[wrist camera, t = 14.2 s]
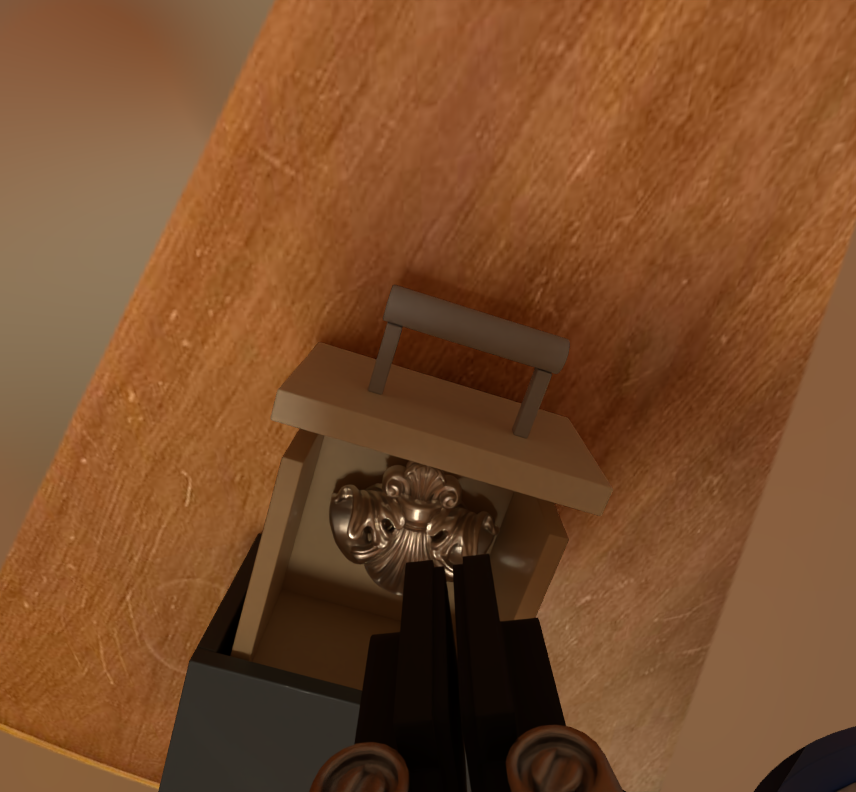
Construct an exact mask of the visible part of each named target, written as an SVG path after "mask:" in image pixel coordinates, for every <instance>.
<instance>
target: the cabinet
mask: <svg viewBox="0 0 856 792" xmlns="http://www.w3.org/2000/svg"><path fill="white" fill-rule="evenodd" d="M261 536H262V534H258V536H257V537H256V539H255V541H254V543H253V545H252V547H251V548H250V550H249V552H248V554H247V556H246V558H245V560H244V561H243V563H242V565H241V567H240V569H239V571H238V572H237V574H236V576H235V578H234V580H233V582H232V584H231V585H230V587H229V589H228V591H227V593H226V595H225V596H224V598H223V600H222V602H221V604H220V606H219V607H218V609H217V611H216V613H215V615H214V617H213V619H212V620H211V622H210V624H209V626H208V628H207V630H206V631H205V633H204V635H203V637H202V639H201V641H200V642H199V644H198V646H197V648H196V650H195V652H194V653H193V655H192V657H191V659H190V661H189V665H188V669H187V673H186V677H185V682H184V686H183V690H182V694H181V698H180V703H179V707H178V711H177V715H176V720H175V724H174V728H173V732H172V736H171V741H170V745H169V749H168V753H167V758H166V762H165V766H164V770H163V774H162V779H161V783H160V787H159V791H158V792H309V790H310V788H311V785H312V782H313V780H314V778H315V777H316V775H317V773H318V771H319V769H320V768H321V767H322V766H323V765H324V764H325V762H326V761H327V760H328V759H329V758H330V757H331V756H333V755H334V754H336V753H337V752H339V751H340V750H342V749H344V748H346V747H349V746H352V745H354V742H355V736H356V729H357V722H358V715H359V709H360V702H361V695H362V690H358V689H355V688H351V687H347V686H343V685H339V684H335V683H332V682H328V681H324V680H320V679H316V678H312V677H308V676H305V675H301V674H297V673H293V672H289V671H285V670H282V669H278V668H274V667H270V666H266V665H262V664H259V663H255V662H251V661H247V660H243V659H239V658H235V657H232V656H230V655H231V651H232V647H233V644H234V640H235V636H236V632H237V628H238V624H239V621H240V617H241V613H242V609H243V605H244V601H245V598H246V594H247V590H248V586H249V582H250V578H251V575H252V571H253V567H254V563H255V559H256V555H257V551H258V548H259V544H260V540H261ZM465 760H466V777H467V792H471V787H470V780H469V773H468V766H467V759H466V752H465Z"/></svg>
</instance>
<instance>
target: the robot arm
mask: <svg viewBox="0 0 856 792" xmlns="http://www.w3.org/2000/svg"><path fill="white" fill-rule="evenodd" d="M462 558H463V564H457V565H453V584H454V603H455V622H456V641H457V652H456V645H455V638H454V630H453V623H452V616H451V609H450V602H449V595H448V588H447V581H446V573H445V567H444V566H439V567H434V562H433V560H425V561H416V562H407V563H406V565H405V576H404V589H403V602H402V614H401V627H400V632H394V633H384V634H374V635H372V636H371V637H370V642H369V648H368V654H367V661H366V668H365V675H364V682H363V688H362V695H361V702H360V709H359V715H358V722H357V729H356V736H355V742H354V745H352V746H349V747H346V748H344V749H342V750H340V751H339V752H337V753H336V754H334V755H333V756H331V757H330V758H329V759H328V760H327V761H326V762H325V764H324V765H323V766H322V767H321V768H320V769H319V771H318V773H317V775H316V777H315V778H314V780H313V782H312V785H311V788H310V790H309V792H467V777H466V760H465V752H466V759H467V766H468V773H469V780H470V787H471V792H626V791H624V790H622V788H621V786H620V784H619V782H618V780H617V778H616V776H615V774H614V772H613V770H612V768H611V766H610V764H609V762H608V760H607V758H606V756H605V754H604V753H603V751H602V750H601V748H600V747H599V746H598V744H597V743H596V742H595V741H594V740H592V739H591V738H590V737H589V736H587V735H586V734H585V733H583V732H581V731H578V730H576V729H574V728H572V727H568V726H566V724H565V720H564V716H563V712H562V708H561V704H560V700H559V697H558V693H557V689H556V685H555V681H554V677H553V673H552V669H551V665H550V661H549V657H548V653H547V649H546V645H545V642H544V638H543V634H542V630H541V626H540V622H539V619H538V618H529V619H519V620H509V621H500V618H499V611H498V605H497V599H496V593H495V586H494V580H493V574H492V568H491V561H490V555H489V554H480V555H471V556H463V557H462ZM836 792H856V782H855V783H852V784H850V785H848V786H846V787H844V788H842V789H840V790H838V791H836Z"/></svg>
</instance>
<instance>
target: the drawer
mask: <svg viewBox="0 0 856 792" xmlns="http://www.w3.org/2000/svg"><path fill="white" fill-rule="evenodd" d="M383 320H384V321H387V322H388V323H387V326H386V329H385V332H384V336H383V339H382V342H381V346H380V349H379V353H378V356H377V359H374V358H370V357H367V356H364V355H360V354H357V353H354V352H351V351H347V350H344V349H341V348H337V347H334V346H331V345H328V344H324V343H321V342H319V343H318V344H317V345H316V346H315V347H314V349H313V350H312V351H311V352H310V353H309V354H308V356H307V357H306V358H305V359H304V360H303V361H302V362H301V364H300V365H299V366H298V367H297V368H296V369H295V371H294V372H293V373H292V374H291V375H290V376H289V377H288V379H287V380H286V381H285V382H284V383H283V384H282V386H281V387H280V388H279V389H278V390H277V394H276V398H275V402H274V406H273V410H272V414H271V420H273V421H276V422H280V423H283V424H287V425H290V426H293V427H297V428H300V429H299V431H298V432H297V434H296V436H295V437H294V439H293V440H292V442H291V444H290V445H289V447H288V449H287V450H286V452H285V454H284V455H283V457H282V459H281V463H280V467H279V471H278V475H277V479H276V482H275V486H274V490H273V494H272V498H271V502H270V505H269V509H268V513H267V517H266V521H265V525H264V528H263V532H262V536H261V540H260V544H259V548H258V551H257V555H256V559H255V563H254V567H253V571H252V575H251V578H250V582H249V586H248V590H247V594H246V598H245V601H244V605H243V609H242V613H241V617H240V621H239V624H238V628H237V632H236V636H235V640H234V644H233V647H232V651H231V655H230V656H232V657H235V658H239V659H243V660H247V661H251V662H255V663H259V664H262V665H266V666H270V667H274V668H278V669H282V670H285V671H289V672H293V673H297V674H301V675H305V676H308V677H312V678H316V679H320V680H324V681H328V682H332V683H335V684H339V685H343V686H347V687H351V688H355V689H358V690H362V688H363V682H364V675H365V668H366V661H367V654H368V648H369V642H370V637H371V636H372V635H374V634H384V633H394V632H400V627H401V614H402V602H403V596H400V595H395V594H392V593H390V592H388V591H386V590H384V589H383V588H381V587H380V586H378V585H377V584H376V583H375V582H374V581H373V580H372V579H371V578H370V576H369V575H368V573H367V571H366V569H365V567H364V564H361V565H359V564H354V563H352V562H351V561H349V560H348V559H347V558H346V557H345V556H344V555H343V554H342V552H341V551H340V549H339V548H338V546H337V545H336V543H335V540H334V538H333V535H332V531H331V527H330V522H329V505H330V500H331V495H332V493H339V490H340V489H341V488H342V487H343V486H345V485H354V486H356V487H357V489H358V490H365V489H366V488H368V487H369V486H371V485H374V484H377V483H379V484H382V480H383V475H384V472H385V471H386V470H387V469H388V468H390V467H391V466H394V465H401V466H404V467H406V465H407V463H408V462H409V461H413V462H417V463H420V464H423V465H427V466H430V467H434V468H437V469H441V470H444V475H451V476H453V477H455V478H456V479H457V480H458V481H459V482H460V485H461V488H462V499H461V500H462V501H463V502H464V503H465V505H466V506H467V508H468V510H469V511H470V512H474V513H476V514H478V513H480V512H482V511H485V512H487V513H489V514H490V515H491V516H492V517H493V520H494V525H497V526H498V527H499V533H498V534H497V535H495V536H494V539H493V542H492V544H491V546H490V547H489V549H488V551H487V553H486V554H489V555H490V561H491V568H492V574H493V580H494V586H495V593H496V599H497V605H498V611H499V618H500V621H509V620H519V619H529V618H535V617H536V615H537V613H538V610H539V608H540V606H541V603H542V601H543V599H544V596H545V594H546V592H547V589H548V587H549V585H550V582H551V580H552V578H553V575H554V573H555V571H556V568H557V566H558V564H559V561H560V559H561V557H562V554H563V552H564V550H565V547H566V545H567V543H568V540H569V539H568V536H567V534H566V531H565V529H564V526H563V524H562V521H561V519H560V516H559V514H558V512H557V509H556V507H555V504H554V503H557V504H560V505H564V506H567V507H571V508H574V509H577V510H581V511H584V512H588V513H591V514H595V515H598V516H601V515H602V514H603V511H604V509H605V507H606V505H607V502H608V500H609V498H610V495H611V493H612V491H613V488H612V486H611V484H610V483H609V481H608V480H607V478H606V477H605V475H604V473H603V472H602V470H601V469H600V467H599V465H598V464H597V462H596V461H595V459H594V458H593V456H592V454H591V453H590V451H589V450H588V448H587V447H586V445H585V443H584V442H583V440H582V439H581V437H580V436H579V434H578V432H577V431H576V429H575V428H574V426H573V424H572V423H571V421H570V420H569V418H567V417H564V416H561V415H558V414H554V413H551V412H548V411H544V410H541V409H539V407H540V405H541V402H542V399H543V397H544V394H545V392H546V389H547V386H548V384H549V381H550V379H551V376H552V374H551V373H555V374H558V373H559V372H560V371H561V370H562V368H563V366H564V364H565V362H566V360H567V357H568V353H569V347H570V342H569V340H568V339H566V338H563V337H559V336H556V335H553V334H550V333H547V332H544V331H540V330H537V329H534V328H531V327H528V326H524V325H521V324H518V323H515V322H512V321H509V320H505V319H502V318H499V317H496V316H493V315H490V314H486V313H483V312H480V311H477V310H474V309H470V308H467V307H464V306H461V305H458V304H455V303H451V302H448V301H445V300H442V299H439V298H436V297H432V296H429V295H426V294H423V293H420V292H416V291H413V290H410V289H407V288H404V287H401V286H397V285H393V286H392V289H391V292H390V295H389V299H388V302H387V305H386V309H385V312H384V316H383ZM403 327H406V328H409V329H413V330H416V331H419V332H422V333H426V334H429V335H432V336H435V337H438V338H442V339H445V340H448V341H451V342H455V343H458V344H461V345H464V346H468V347H471V348H474V349H477V350H480V351H484V352H487V353H490V354H493V355H497V356H500V357H503V358H506V359H509V360H513V361H516V362H519V363H522V364H526V365H529V366H532V367H535V369H534V372H533V375H532V377H531V380H530V383H529V385H528V388H527V391H526V393H525V396H524V399H523V401H522V404H521V403H518V402H515V401H512V400H508V399H505V398H502V397H498V396H495V395H492V394H489V393H485V392H482V391H479V390H475V389H472V388H469V387H466V386H462V385H459V384H456V383H452V382H449V381H446V380H443V379H439V378H436V377H433V376H429V375H426V374H423V373H420V372H416V371H413V370H410V369H406V368H403V367H400V366H397V365H393V364H392V361H393V358H394V354H395V351H396V348H397V344H398V341H399V338H400V334H401V331H402V328H403ZM406 468H407V467H406ZM385 525H386V528H388V527H390V526H391V525H392V524H391V522H390V521H389V520H386V522H385ZM442 535H443V531H441V532H439V533H438V534H437V535H435V536H433V537H432V538H433V539H435V540H438V539H440V538H441V536H442ZM368 540H369V541H370V540H371V529H370V527H368ZM447 588H448V595H449V602H450V609H451V616H452V623H453V630H454V638H455V645H456V652H457V641H456V622H455V603H454V584H453V582H447Z"/></svg>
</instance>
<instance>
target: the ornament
mask: <svg viewBox="0 0 856 792" xmlns="http://www.w3.org/2000/svg"><path fill="white" fill-rule="evenodd" d="M406 467H407V468H406ZM406 467H404V466H401V465H394V466H391V467H390V468H388V469H387V470H386V471H385V472H384V475H383V480H382V484H379V483H377V484H374V485H371V486H369V487H368V488H366V489H365V490H358V489H357V487H356V486H354V485H345V486H343V487H342V488H341V489H340V490H339V493H332V495H331V500H330V505H329V522H330V527H331V531H332V535H333V538H334V540H335V543H336V545H337V546H338V548H339V549H340V551H341V552H342V554H343V555H344V556H345V557H346V558H347V559H348V560H349V561H351V562H352V563H354V564H359V565H361V564H364V567H365V569H366V571H367V573H368V575H369V576H370V578H371V579H372V580H373V581H374V582H375V583H376V584H377V585H378V586H380V587H381V588H383V589H384V590H386V591H388V592H390V593H392V594H395V595H400V596H403V589H404V576H405V565H406V563H407V562H416V561H425V560H433V562H434V567H439V566H444V567H445V573H446V581H447V582H453V565H457V564H463V558H462V557H463V556H471V555H480V554H486V553H487V551H488V549H489V547H490V546H491V544H492V542H493V539H494V536H495V535H497V534H498V533H499V527H498V526H497V525H494V520H493V517H492V516H491V515H490V514H489V513H487V512H485V511H482V512H480V513H478V514H476V513H474V512H470V511H469V510H468V508H467V506H466V505H465V503H464V502H463V501H462V500H461V499H462V488H461V485H460V482H459V481H458V480H457V479H456V478H455V477H453V476H451V475H444V470H441V469H437V468H434V467H430V466H427V465H423V464H420V463H417V462H413V461H409V462H408V463H407V465H406ZM386 520H389V521H390V522H391V524H392V525H391V526H390V527H388V528H386V525H385V522H386ZM368 527H370V529H371V540H370V541H369V540H368ZM441 531H443V535H442V536H441V538H440V539H438V540H435V539H433V538H432V537H433V536H435V535H437V534H438V533H439V532H441Z"/></svg>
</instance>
